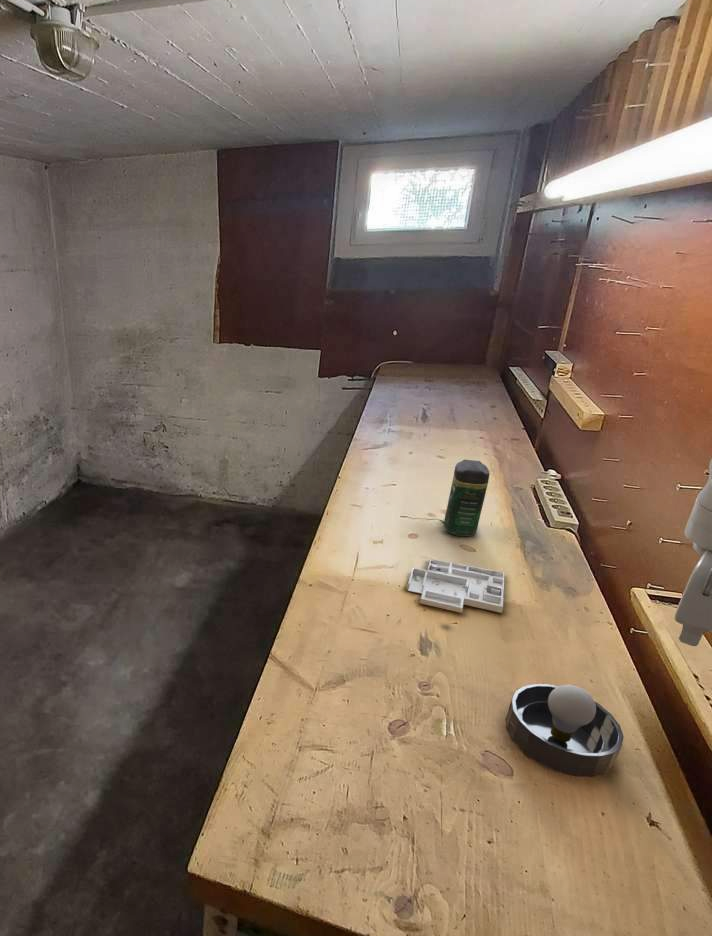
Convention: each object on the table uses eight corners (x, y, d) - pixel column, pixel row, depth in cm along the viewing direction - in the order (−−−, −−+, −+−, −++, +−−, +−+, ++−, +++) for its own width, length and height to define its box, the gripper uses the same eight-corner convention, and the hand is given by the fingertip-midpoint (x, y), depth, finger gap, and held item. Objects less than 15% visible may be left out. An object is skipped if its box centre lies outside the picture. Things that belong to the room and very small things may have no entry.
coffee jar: (478, 539, 144) (493, 472, 136) (444, 535, 146) (457, 469, 138) (474, 522, 152) (488, 458, 144) (442, 519, 155) (454, 456, 146)
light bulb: (544, 751, 85) (562, 702, 81) (531, 721, 90) (547, 674, 86) (588, 757, 84) (608, 708, 79) (573, 727, 89) (591, 679, 85)
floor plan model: (399, 615, 117) (401, 608, 116) (415, 559, 137) (417, 552, 136) (501, 640, 109) (504, 632, 108) (503, 576, 128) (505, 569, 127)
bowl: (558, 699, 95) (566, 676, 93) (637, 768, 83) (648, 744, 80) (484, 715, 93) (491, 692, 90) (554, 789, 80) (564, 765, 78)
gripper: (759, 574, 58) (712, 677, 64) (788, 509, 69) (746, 602, 75) (680, 553, 62) (643, 651, 68) (720, 495, 74) (685, 584, 80)
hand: (697, 624), depth 72 cm, fingers open, 8 cm apart
